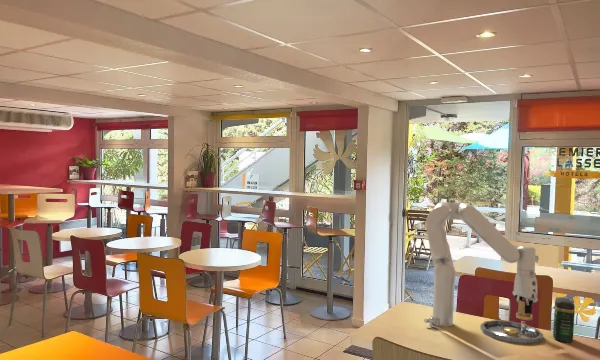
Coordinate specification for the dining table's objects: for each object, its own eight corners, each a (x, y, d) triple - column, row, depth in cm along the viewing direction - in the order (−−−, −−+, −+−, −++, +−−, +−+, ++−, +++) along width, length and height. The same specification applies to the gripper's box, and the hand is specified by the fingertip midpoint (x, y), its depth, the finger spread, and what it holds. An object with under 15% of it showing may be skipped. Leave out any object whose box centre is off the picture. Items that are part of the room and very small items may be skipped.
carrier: (510, 350, 197) (511, 335, 197) (469, 330, 221) (470, 316, 221) (554, 344, 206) (555, 329, 206) (510, 325, 230) (511, 312, 230)
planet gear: (524, 320, 212) (525, 303, 212) (512, 316, 218) (513, 299, 218) (535, 319, 214) (536, 302, 214) (523, 315, 220) (524, 298, 220)
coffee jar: (574, 344, 207) (576, 303, 207) (554, 341, 210) (556, 300, 210) (570, 337, 216) (572, 297, 216) (551, 334, 219) (553, 295, 219)
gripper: (546, 276, 209) (545, 316, 210) (517, 268, 225) (516, 306, 225) (534, 277, 207) (532, 317, 207) (505, 269, 222) (504, 307, 223)
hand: (524, 311), depth 216 cm, fingers closed on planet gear, 3 cm apart
